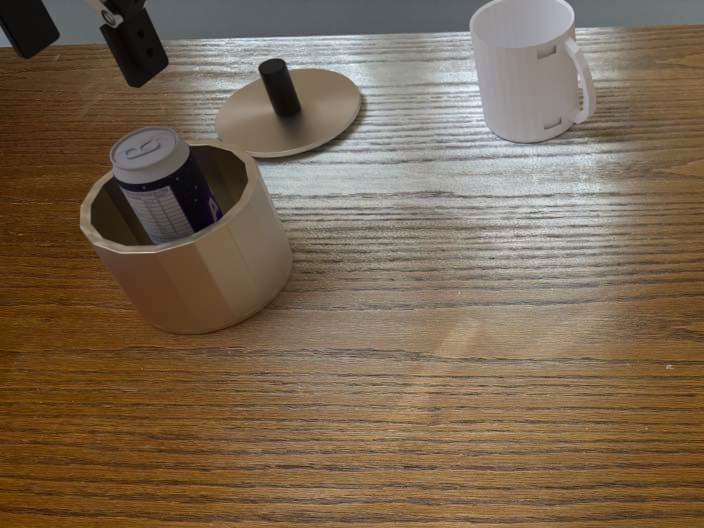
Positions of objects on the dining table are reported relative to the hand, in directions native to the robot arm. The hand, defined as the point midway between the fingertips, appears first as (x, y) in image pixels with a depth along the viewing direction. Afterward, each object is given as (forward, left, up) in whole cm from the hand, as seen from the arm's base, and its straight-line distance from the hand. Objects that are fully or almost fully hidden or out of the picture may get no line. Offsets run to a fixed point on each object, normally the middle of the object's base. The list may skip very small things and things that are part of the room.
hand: (94, 61), depth 55 cm
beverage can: (0, 0, -19) cm, 19 cm away
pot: (0, 0, -19) cm, 19 cm away
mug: (+25, +21, -19) cm, 38 cm away
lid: (0, +22, -18) cm, 29 cm away
